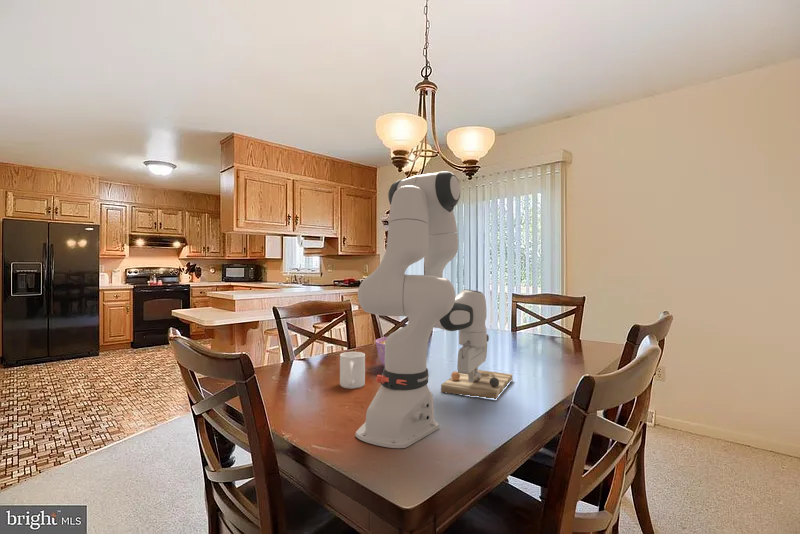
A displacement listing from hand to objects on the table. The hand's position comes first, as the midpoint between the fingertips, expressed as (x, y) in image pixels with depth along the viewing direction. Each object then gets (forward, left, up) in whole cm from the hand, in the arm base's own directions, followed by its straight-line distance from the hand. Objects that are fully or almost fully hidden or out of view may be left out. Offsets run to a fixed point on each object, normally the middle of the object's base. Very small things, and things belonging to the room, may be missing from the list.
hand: (472, 381), depth 130 cm
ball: (+4, 0, 0) cm, 4 cm away
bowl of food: (+14, +34, -4) cm, 37 cm away
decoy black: (+1, -7, 0) cm, 7 cm away
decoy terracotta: (+2, +7, 0) cm, 7 cm away
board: (+7, 0, -4) cm, 8 cm away
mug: (-14, +38, -4) cm, 41 cm away
